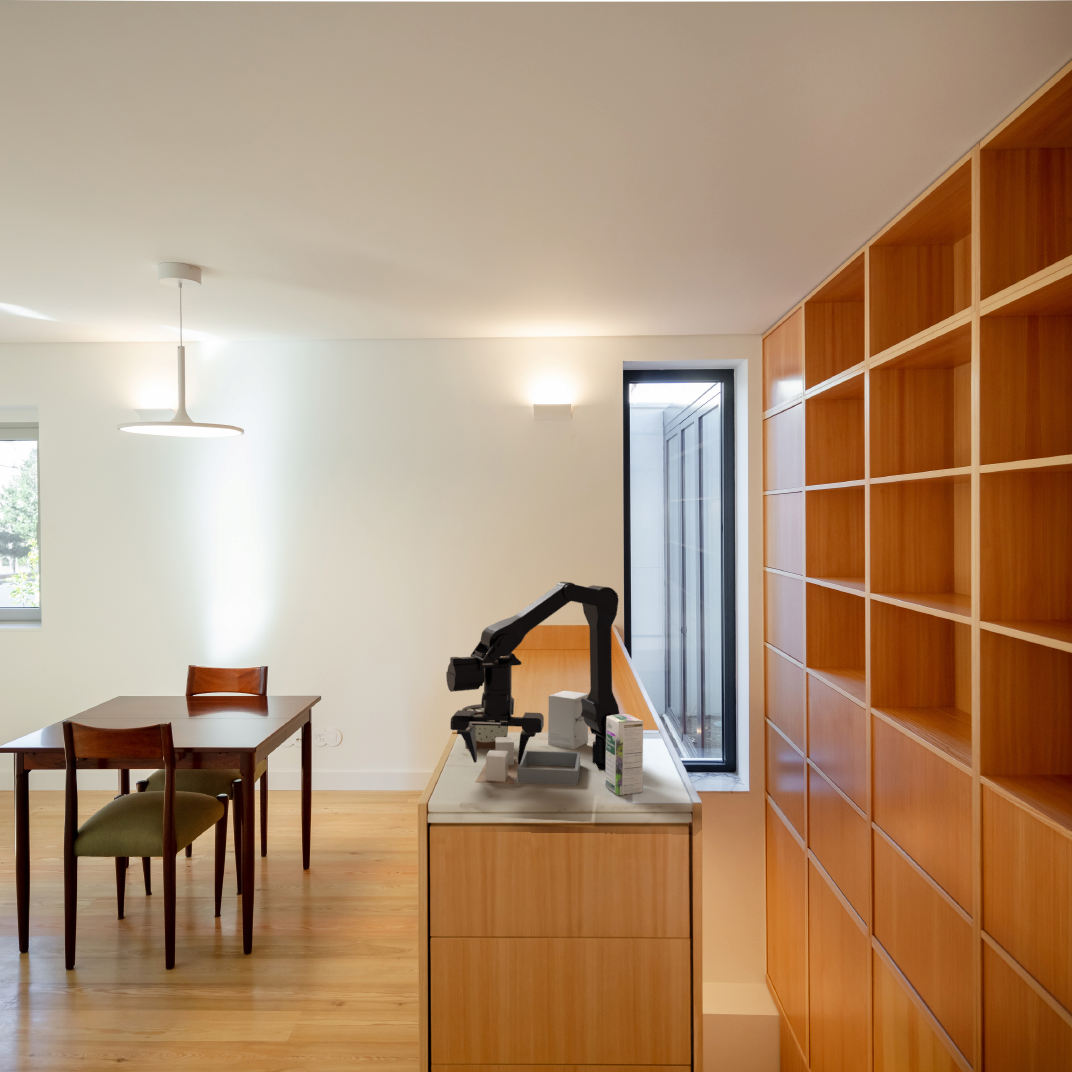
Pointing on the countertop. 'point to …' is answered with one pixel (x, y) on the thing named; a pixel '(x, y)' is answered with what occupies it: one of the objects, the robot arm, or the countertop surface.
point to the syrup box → (624, 754)
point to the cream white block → (506, 747)
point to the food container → (486, 730)
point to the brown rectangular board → (510, 778)
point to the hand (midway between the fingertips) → (497, 762)
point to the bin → (549, 774)
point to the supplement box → (566, 720)
